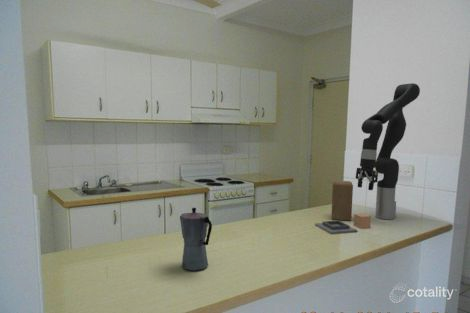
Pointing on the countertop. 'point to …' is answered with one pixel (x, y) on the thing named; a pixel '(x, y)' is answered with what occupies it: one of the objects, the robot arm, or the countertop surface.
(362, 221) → the brick
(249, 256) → the countertop surface
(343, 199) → the wooden block
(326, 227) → the socket board
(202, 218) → the moka pot
